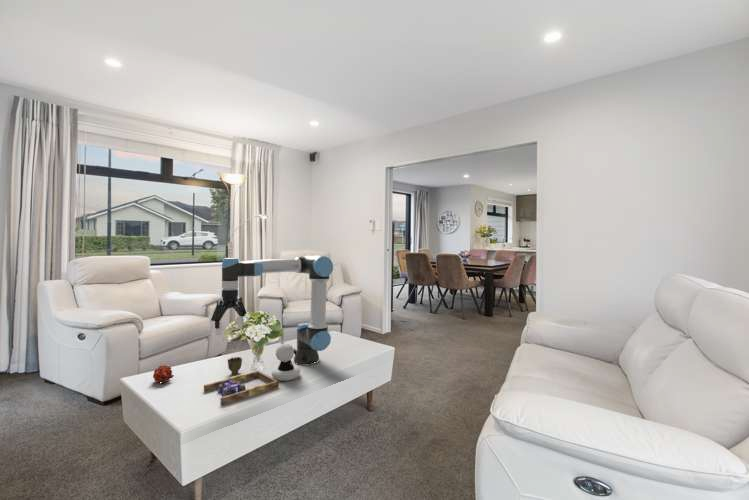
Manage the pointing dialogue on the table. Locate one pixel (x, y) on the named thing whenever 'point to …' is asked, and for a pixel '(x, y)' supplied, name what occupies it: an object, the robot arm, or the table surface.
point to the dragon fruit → (162, 374)
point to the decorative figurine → (285, 363)
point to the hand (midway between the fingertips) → (229, 331)
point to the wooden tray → (246, 393)
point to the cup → (234, 364)
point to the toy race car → (230, 388)
